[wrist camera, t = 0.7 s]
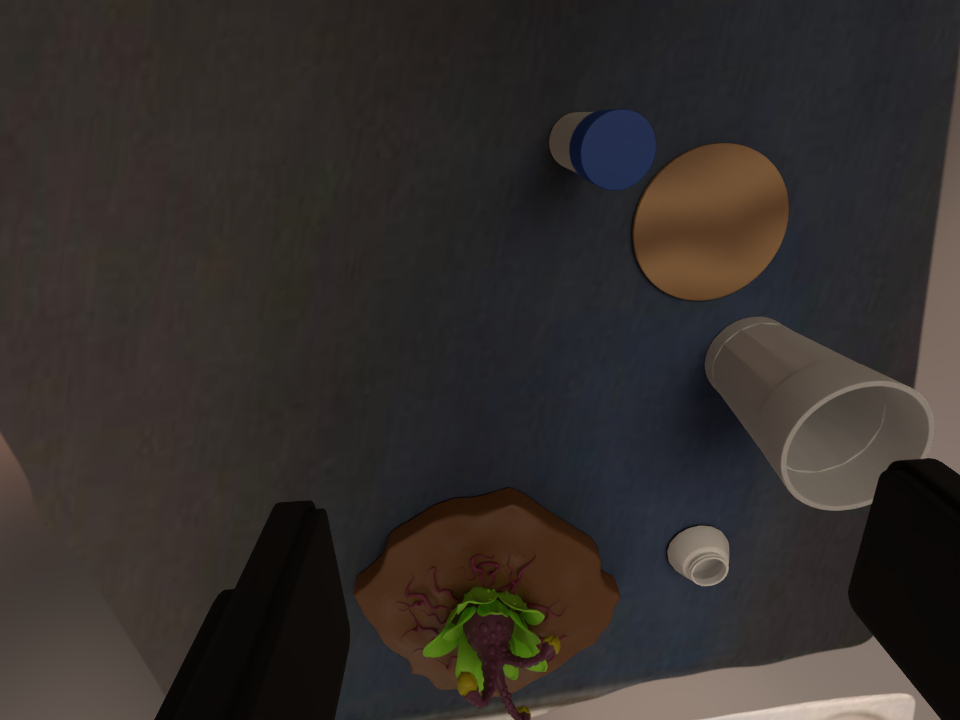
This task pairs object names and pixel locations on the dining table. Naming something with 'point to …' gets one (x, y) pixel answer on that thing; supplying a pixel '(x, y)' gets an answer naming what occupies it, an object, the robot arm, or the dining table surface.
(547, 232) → the dining table surface
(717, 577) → the white jar
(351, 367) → the dining table surface
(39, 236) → the dining table surface
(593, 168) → the marker
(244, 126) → the dining table surface
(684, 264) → the coaster
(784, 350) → the cup
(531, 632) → the plant
